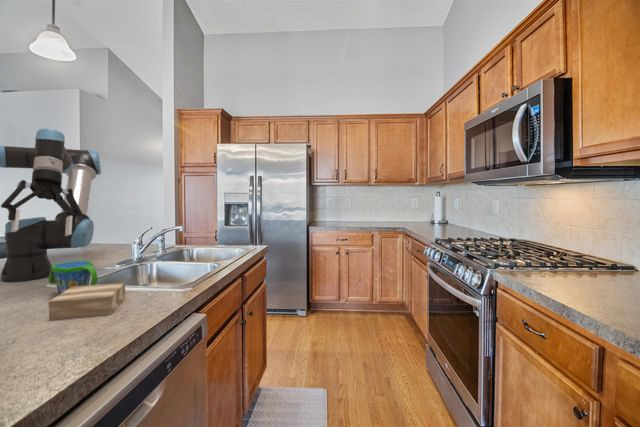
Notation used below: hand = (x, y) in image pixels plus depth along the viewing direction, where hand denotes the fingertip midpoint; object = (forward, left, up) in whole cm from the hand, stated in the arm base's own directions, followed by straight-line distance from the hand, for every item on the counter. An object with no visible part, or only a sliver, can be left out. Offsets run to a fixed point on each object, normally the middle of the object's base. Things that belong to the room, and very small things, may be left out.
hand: (42, 233), depth 99 cm
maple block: (+17, +18, -20) cm, 32 cm away
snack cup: (+1, +8, -21) cm, 22 cm away
